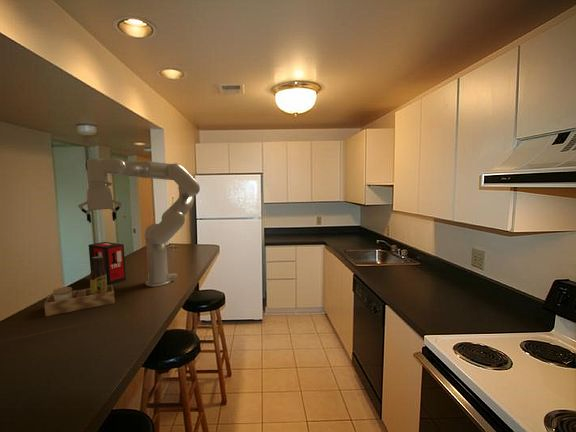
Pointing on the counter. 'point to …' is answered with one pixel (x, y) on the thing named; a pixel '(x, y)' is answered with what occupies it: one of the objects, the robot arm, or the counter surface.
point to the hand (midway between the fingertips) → (102, 221)
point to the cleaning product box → (110, 260)
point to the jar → (62, 293)
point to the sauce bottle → (98, 277)
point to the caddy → (79, 301)
